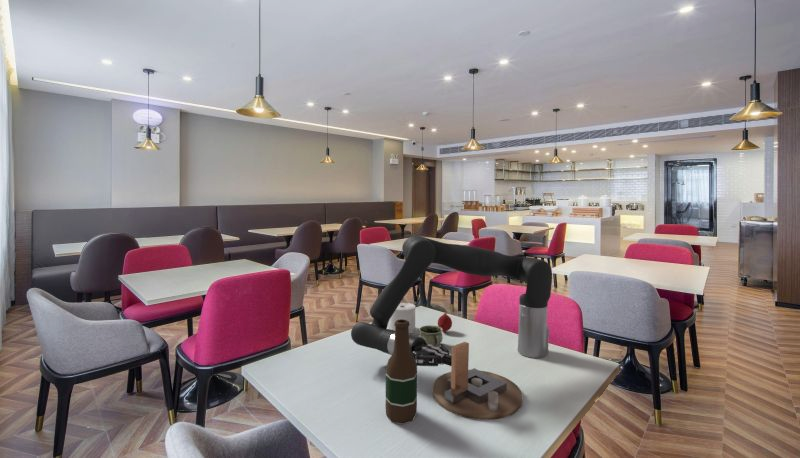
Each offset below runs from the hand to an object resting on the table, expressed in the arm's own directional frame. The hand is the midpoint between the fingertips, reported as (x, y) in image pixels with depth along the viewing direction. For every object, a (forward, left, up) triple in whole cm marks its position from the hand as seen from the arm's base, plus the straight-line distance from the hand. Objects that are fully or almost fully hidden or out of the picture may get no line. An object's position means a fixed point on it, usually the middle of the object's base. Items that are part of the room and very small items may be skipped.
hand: (457, 362), depth 101 cm
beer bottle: (+16, +1, -11) cm, 19 cm away
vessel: (-9, -38, -11) cm, 40 cm away
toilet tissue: (-4, -57, -11) cm, 58 cm away
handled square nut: (-4, -1, -9) cm, 10 cm away
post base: (-7, -2, -11) cm, 13 cm away
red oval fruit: (-20, -49, -11) cm, 54 cm away
